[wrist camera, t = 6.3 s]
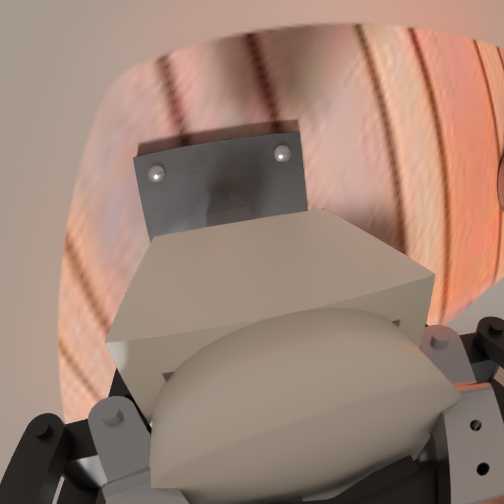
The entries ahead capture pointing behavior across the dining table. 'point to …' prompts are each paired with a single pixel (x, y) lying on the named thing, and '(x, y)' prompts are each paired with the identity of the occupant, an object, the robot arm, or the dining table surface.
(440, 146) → the dining table surface
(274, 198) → the shaft mount
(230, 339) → the knob
